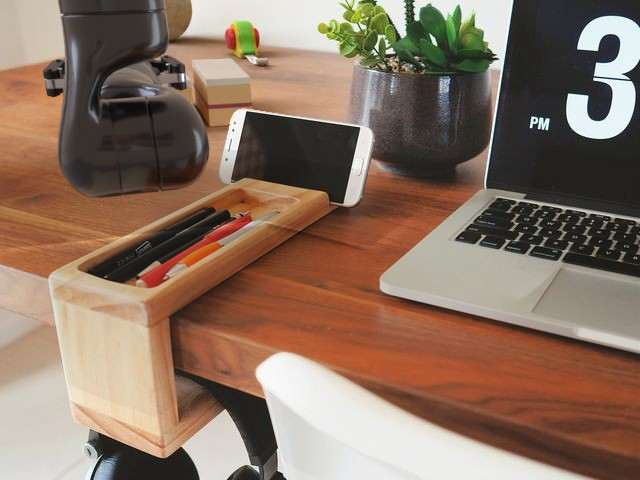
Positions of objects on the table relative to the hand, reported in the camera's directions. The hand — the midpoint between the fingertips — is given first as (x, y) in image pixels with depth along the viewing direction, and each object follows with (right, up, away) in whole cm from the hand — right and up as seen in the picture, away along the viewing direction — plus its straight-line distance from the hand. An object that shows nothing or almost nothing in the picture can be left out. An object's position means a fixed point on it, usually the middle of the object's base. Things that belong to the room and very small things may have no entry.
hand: (112, 61), depth 81 cm
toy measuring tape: (+5, +20, +65) cm, 68 cm away
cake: (+3, 0, +24) cm, 25 cm away
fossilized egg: (-16, +28, +80) cm, 86 cm away
